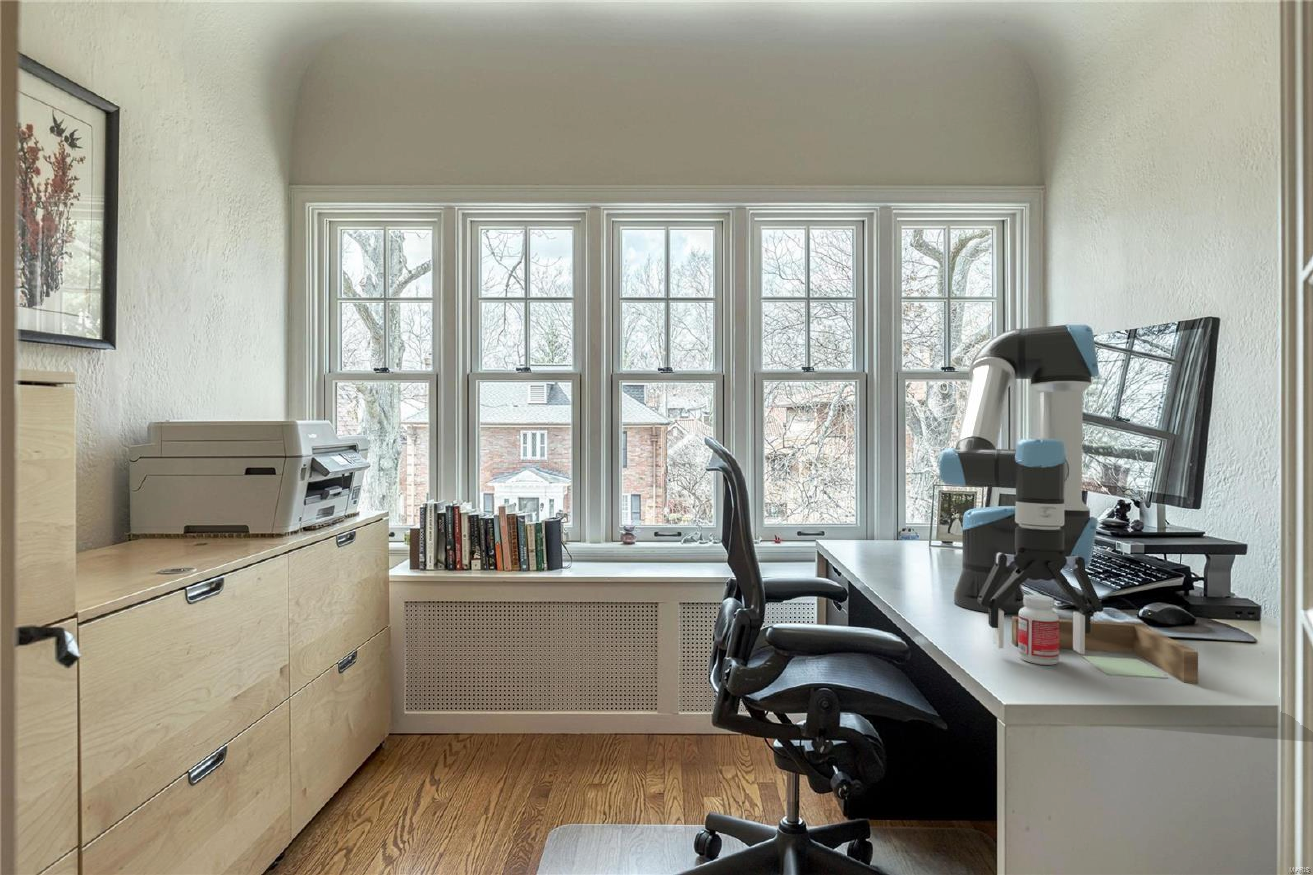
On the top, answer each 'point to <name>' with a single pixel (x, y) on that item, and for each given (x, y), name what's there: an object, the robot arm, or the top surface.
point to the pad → (1124, 667)
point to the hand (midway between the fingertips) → (1038, 648)
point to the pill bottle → (1038, 631)
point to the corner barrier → (1131, 645)
